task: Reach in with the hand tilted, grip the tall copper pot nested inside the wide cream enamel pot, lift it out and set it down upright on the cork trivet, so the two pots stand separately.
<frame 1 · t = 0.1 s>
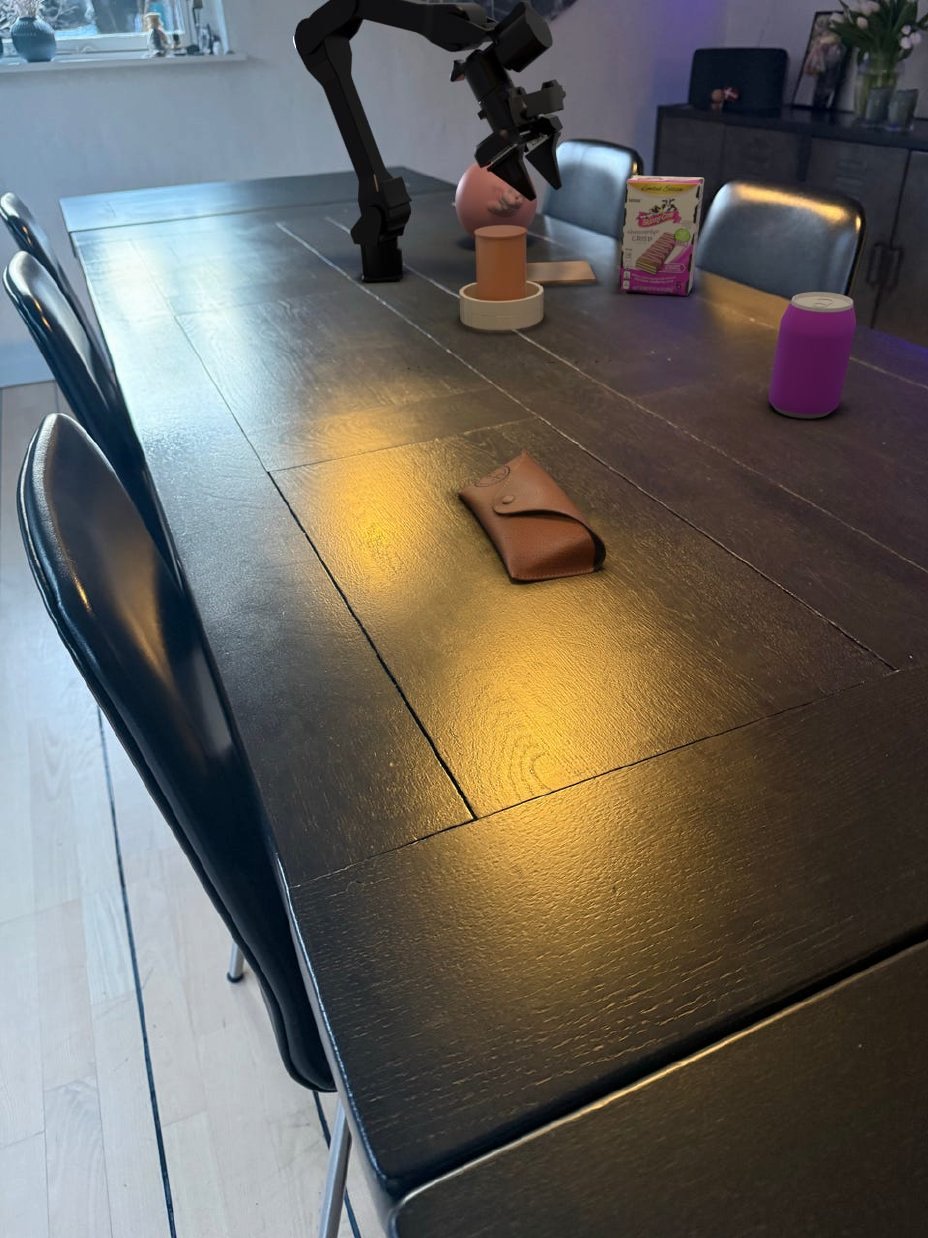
hand: (546, 193, 135), 15 cm above the table, tool tilted 35°, fingers open, 9 cm apart
big pot: (501, 321, 133), on the table, touching small pot
sunglasses case: (524, 531, 81), on the table
candy bar box: (655, 292, 143), on the table
beverage can: (801, 409, 102), on the table
trivet: (555, 276, 152), on the table
small pot: (501, 317, 133), point 1 cm above the table, touching big pot
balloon: (499, 248, 172), on the table
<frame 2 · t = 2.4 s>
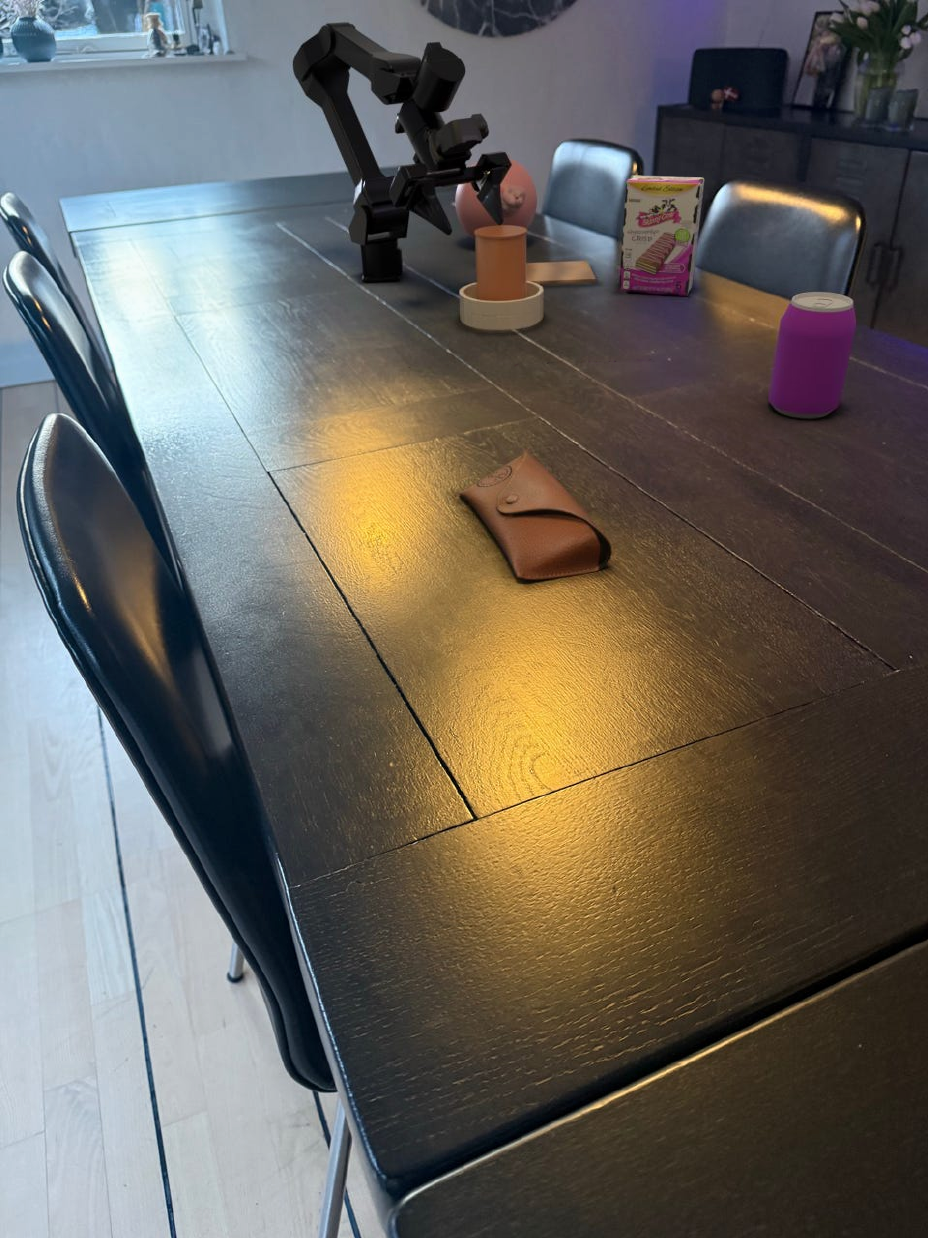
hand: (476, 228, 130), 12 cm above the table, tool tilted 45°, fingers open, 9 cm apart
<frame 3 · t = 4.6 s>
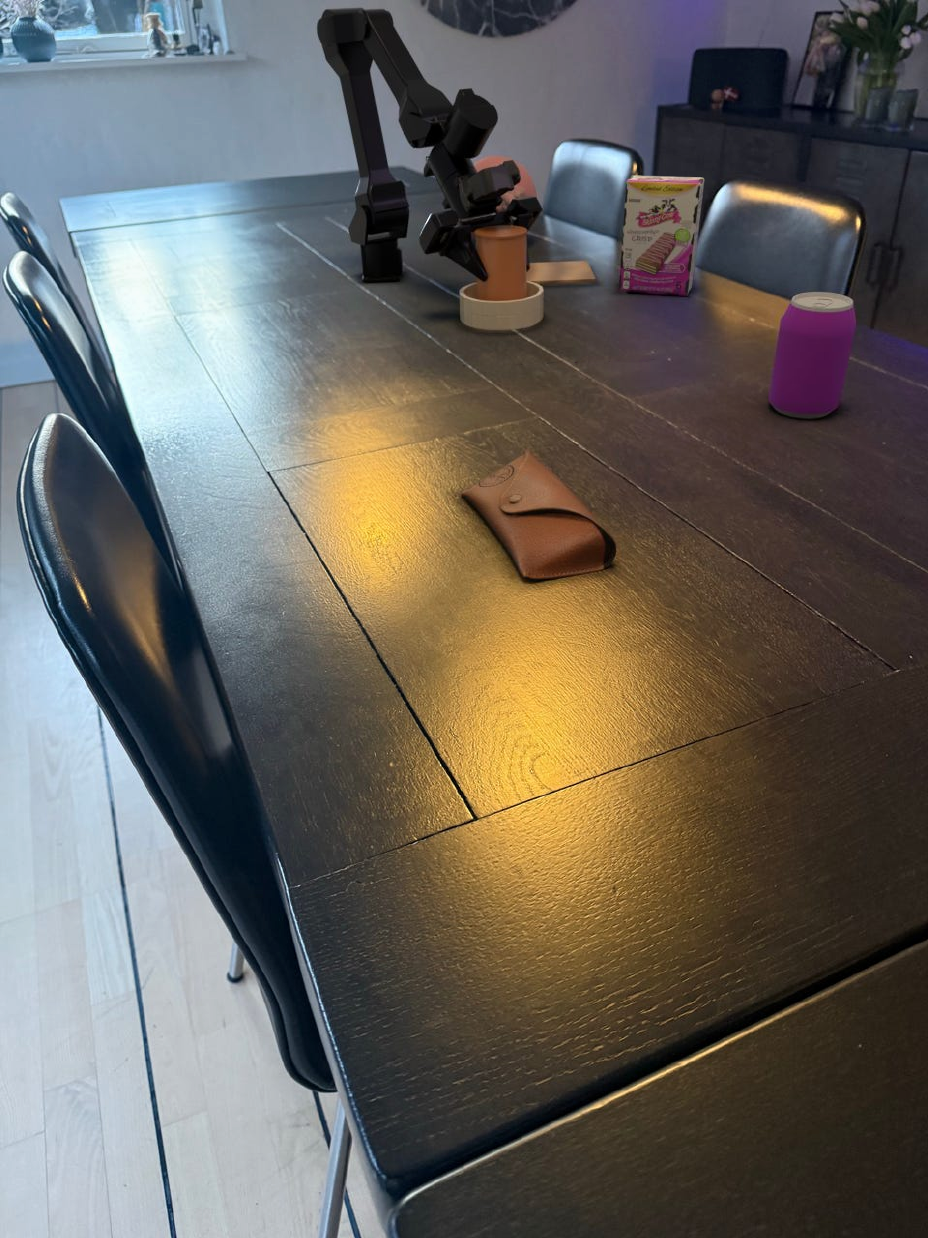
hand: (507, 275, 128), 7 cm above the table, tool tilted 45°, fingers closed on small pot, 7 cm apart
small pot: (501, 317, 133), point 1 cm above the table, touching big pot, gripper
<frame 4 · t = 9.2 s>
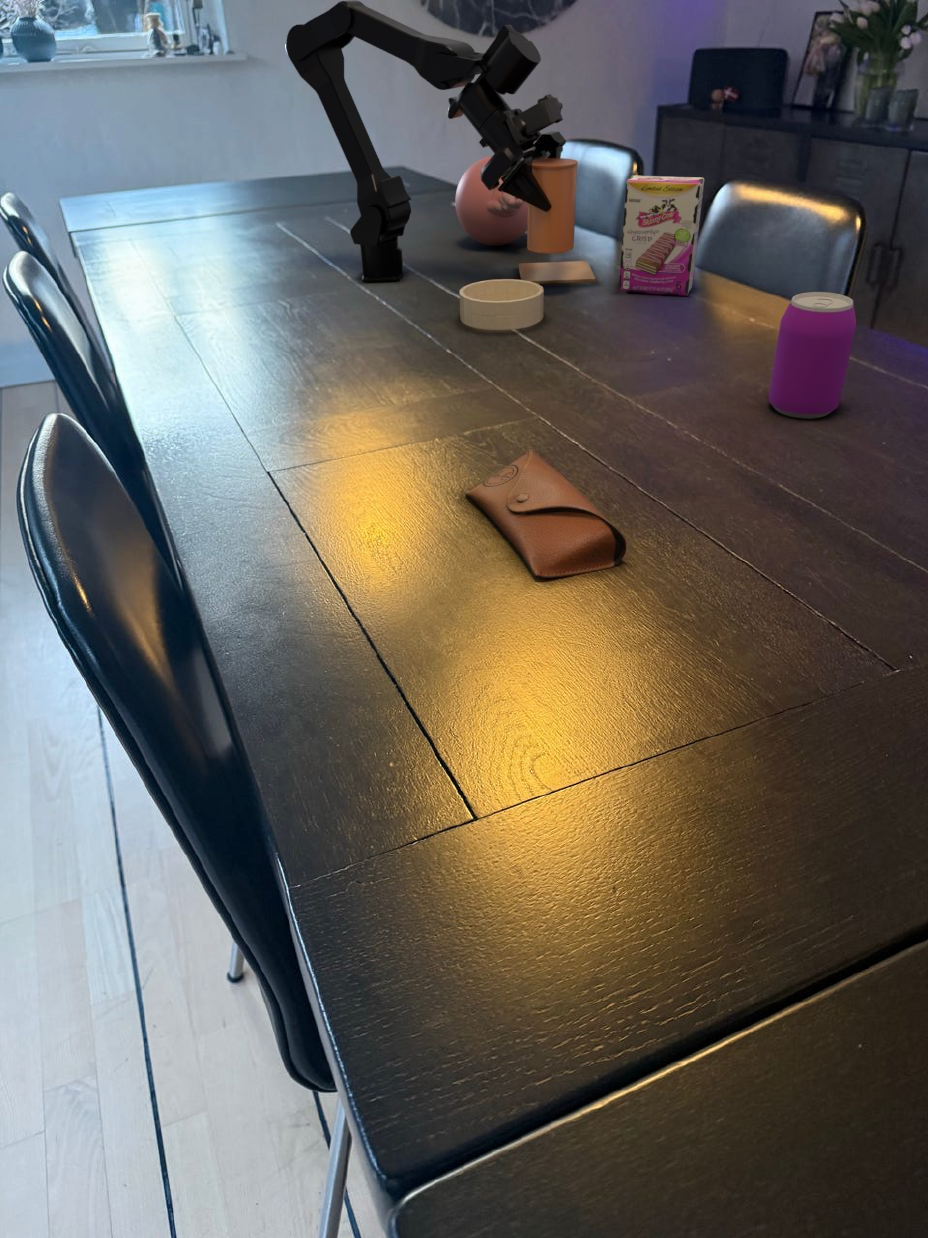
hand: (559, 204, 135), 13 cm above the table, tool tilted 45°, fingers closed on small pot, 7 cm apart
big pot: (501, 321, 133), on the table
small pot: (550, 247, 139), point 7 cm above the table, touching gripper
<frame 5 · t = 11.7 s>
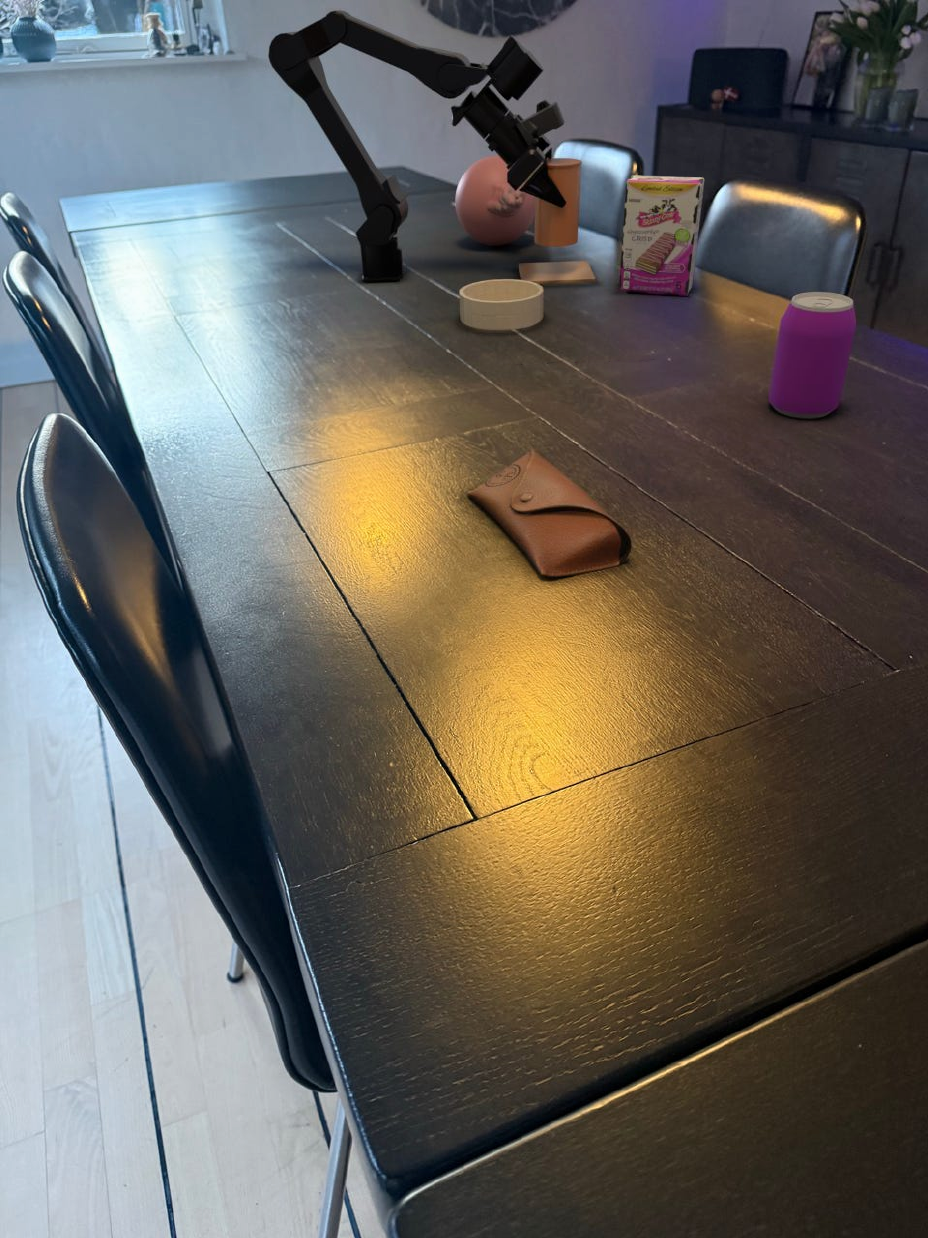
hand: (565, 200, 145), 12 cm above the table, tool tilted 45°, fingers closed on small pot, 7 cm apart
small pot: (555, 241, 149), point 6 cm above the table, touching gripper
when the fingers open (7 cm above the table, at t = 13.6 s): small pot stays where it is, resting on trivet.
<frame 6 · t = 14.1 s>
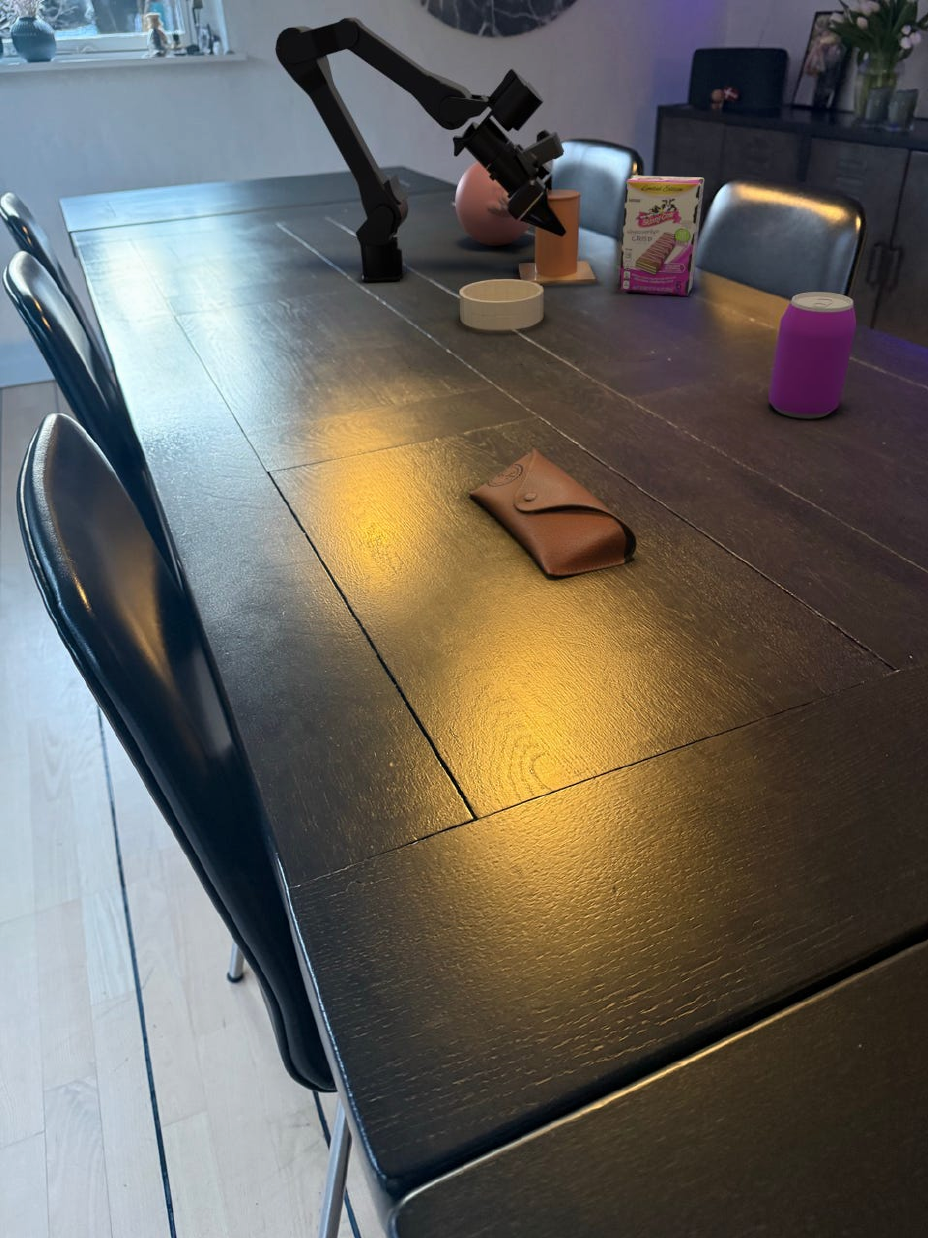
hand: (565, 227, 148), 8 cm above the table, tool tilted 45°, fingers open, 9 cm apart
small pot: (556, 270, 152), point 1 cm above the table, touching trivet
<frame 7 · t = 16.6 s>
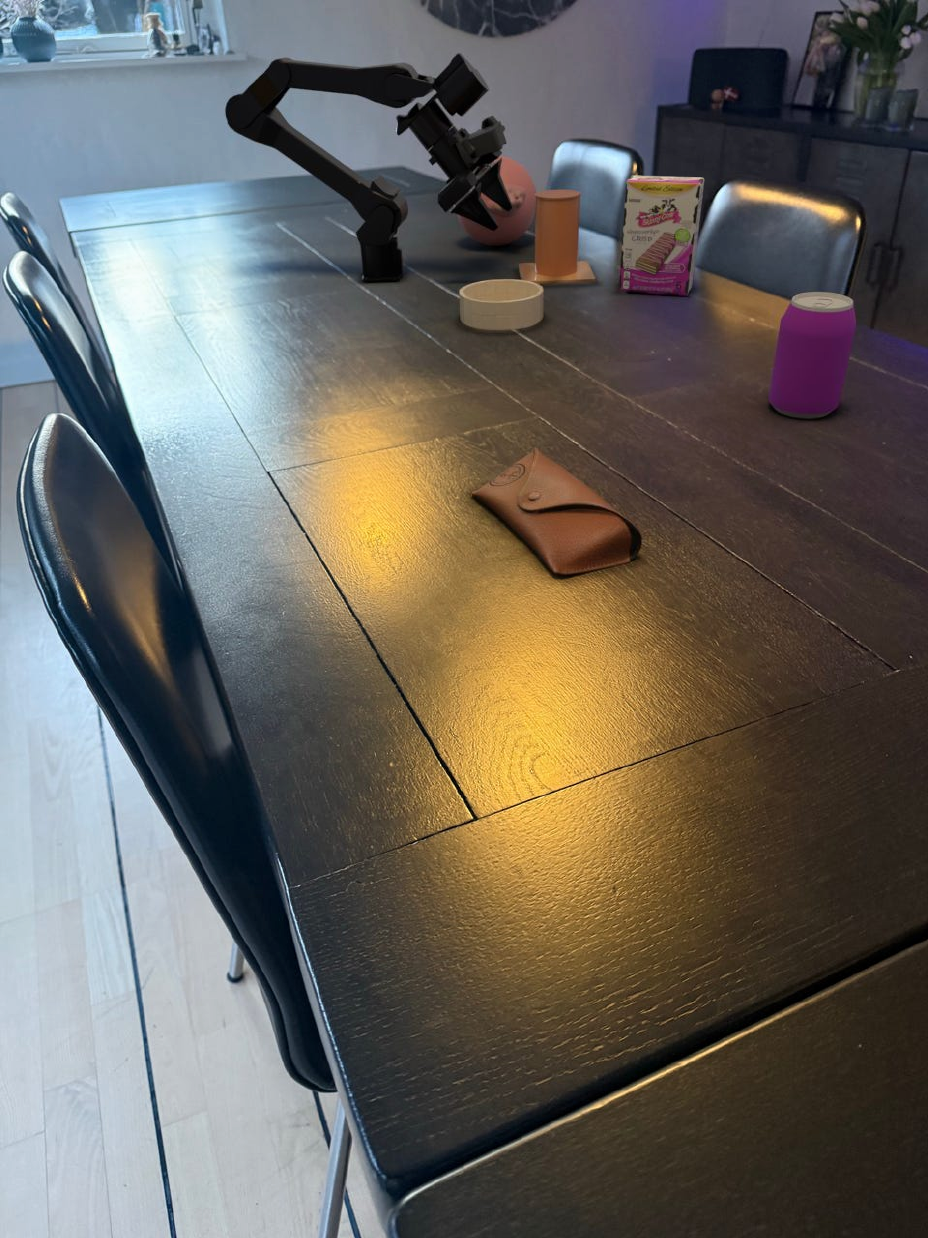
hand: (503, 218, 148), 9 cm above the table, tool tilted 40°, fingers open, 9 cm apart
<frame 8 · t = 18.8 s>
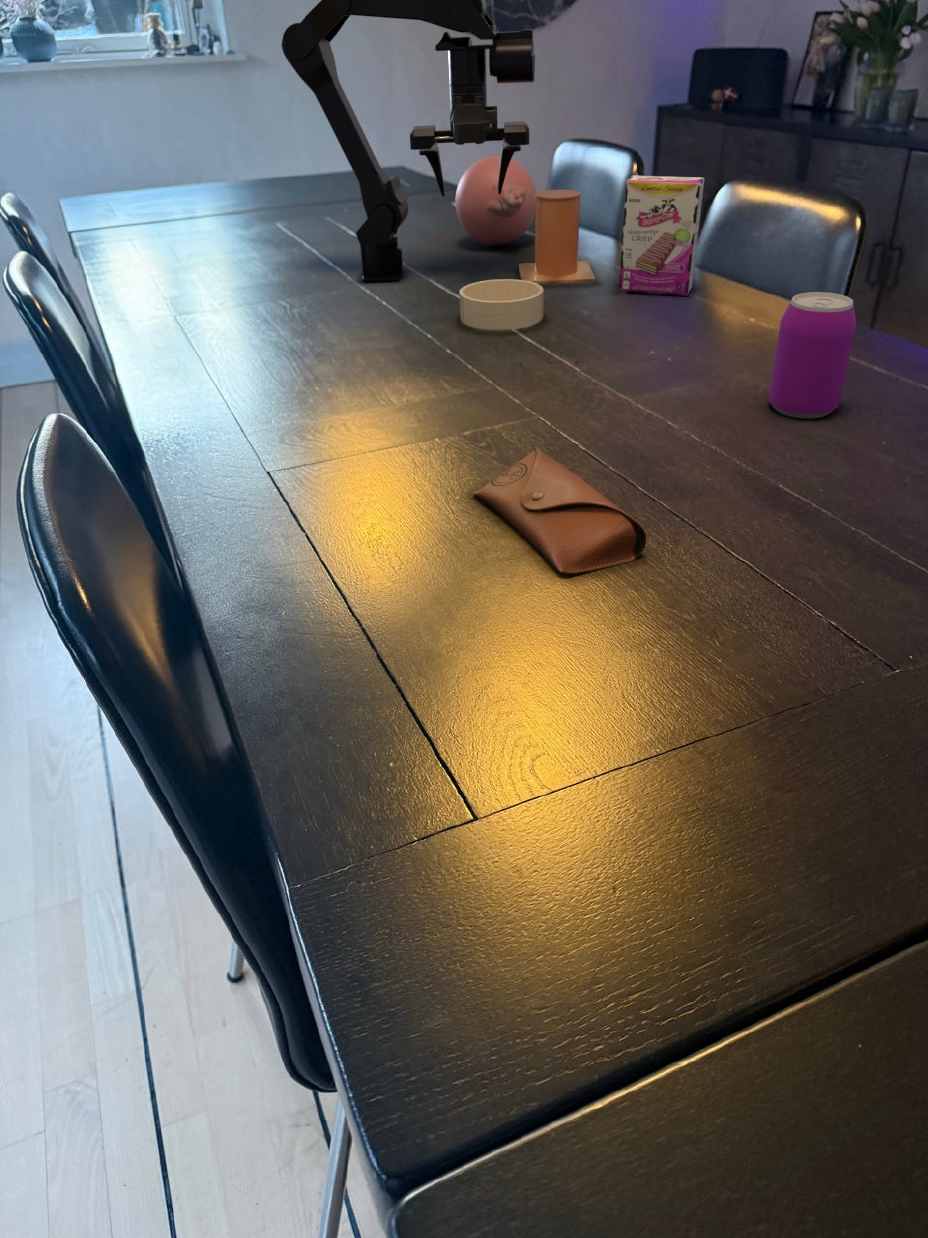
hand: (471, 194, 147), 13 cm above the table, tool pointing down, fingers open, 9 cm apart
at the end: small pot inside the target area on the trivet (0.0 cm from its centre), point 1.0 cm above the trivet's base; small pot tilted 0°; small pot touching trivet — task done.
